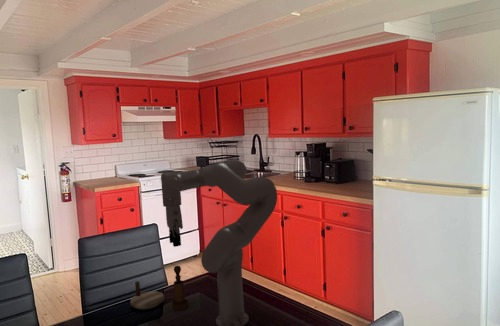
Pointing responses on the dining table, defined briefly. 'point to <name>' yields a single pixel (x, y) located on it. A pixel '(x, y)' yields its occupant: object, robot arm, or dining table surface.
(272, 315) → the dining table surface
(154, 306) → the turntable base
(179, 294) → the wooden pepper mill
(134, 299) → the disc
